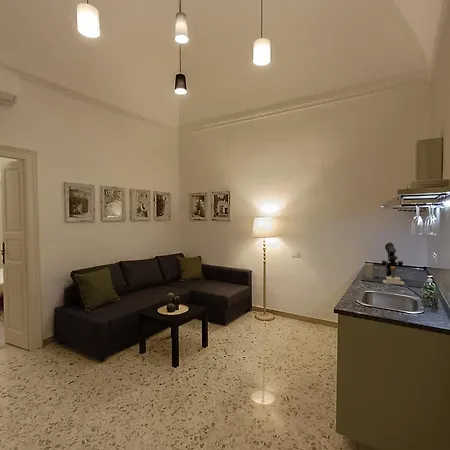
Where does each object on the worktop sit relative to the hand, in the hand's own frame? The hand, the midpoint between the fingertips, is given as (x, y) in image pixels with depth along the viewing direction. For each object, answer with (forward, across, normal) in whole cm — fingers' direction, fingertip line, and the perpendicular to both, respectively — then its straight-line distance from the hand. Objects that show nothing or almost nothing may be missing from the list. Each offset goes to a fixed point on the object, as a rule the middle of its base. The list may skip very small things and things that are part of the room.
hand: (392, 270), depth 295 cm
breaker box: (+13, 0, +4) cm, 13 cm away
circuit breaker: (0, -18, +16) cm, 25 cm away
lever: (+9, 0, 0) cm, 9 cm away
